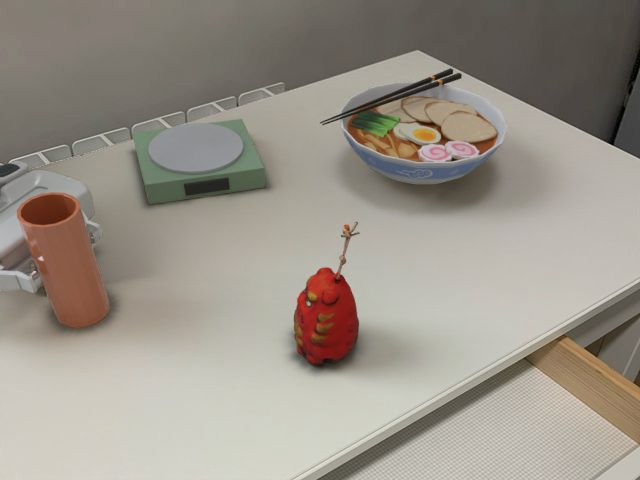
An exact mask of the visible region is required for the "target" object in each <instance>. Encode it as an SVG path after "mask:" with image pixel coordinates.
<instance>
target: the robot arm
mask: <svg viewBox="0 0 640 480" xmlns="http://www.w3.org/2000/svg"><path fill="white" fill-rule="evenodd" d="M51 192H58V193H66V194H69V195H72V196H74V197H75V198H76V199H77V200H78V201H79V202H80V206H81V209H82V212H83V216H84V219H85V222H86V226H87V229H88V232H89V236H90V239H91V243H92V245H94V244H96V243H97V242H99V241H100V240H101V239H102V238H104V232H103V229H102V227H101V225H100V224H99V223H97V222H94V221H92V220H90V219H91V218H93V217H94V216H95V214H96V208H95V203H94V200H93V196H92V193H91V191H90V189H89V187H88V185H86V183H84V182H82V181H80V180H77V179H75V178H72V177H71V176H67V175H64V174H61V173H57V172H54V171H51V170H46V169H45V170H43V169H36V170H31V168H30V166H29V164H28V163H26V162H24V161H22V160H13V161H10V162H7V163H5V164H2V165H0V291H2V292H3V291H4V292H5V291H15V290H16V291H17V290H18V291H19V290H24V291H26V292H29V293H31V294H34V293H36V292H37V291H38V290H39V289H41V288H42V286H43V284H44V283H43V281H41V276H40V274H39V273H38V270H37V271H36V270H33V269H31V268H29V266H31V265H32V263H34V260H33V257H32V255H31V252H30V250H29V247H28V245H27V242H26V239H25V237H24V234H23V232H22V229H21V226H20V224H19V221H18V219H17V210H18V208H19V207H20V205H21V204H22V203H23V202H25V201H26V200H28V199H29V198H31V197H34V196H37V195H39V194H44V193H51Z"/></svg>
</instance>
